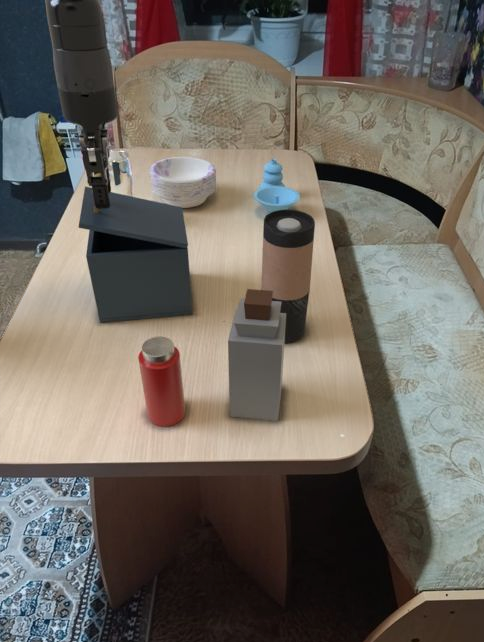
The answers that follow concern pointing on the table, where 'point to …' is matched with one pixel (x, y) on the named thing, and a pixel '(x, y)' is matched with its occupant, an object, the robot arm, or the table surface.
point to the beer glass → (120, 173)
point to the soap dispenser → (275, 189)
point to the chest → (137, 278)
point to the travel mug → (288, 265)
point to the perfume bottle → (256, 357)
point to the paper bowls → (183, 180)
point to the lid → (135, 219)
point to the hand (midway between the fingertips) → (103, 199)
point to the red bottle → (162, 381)
